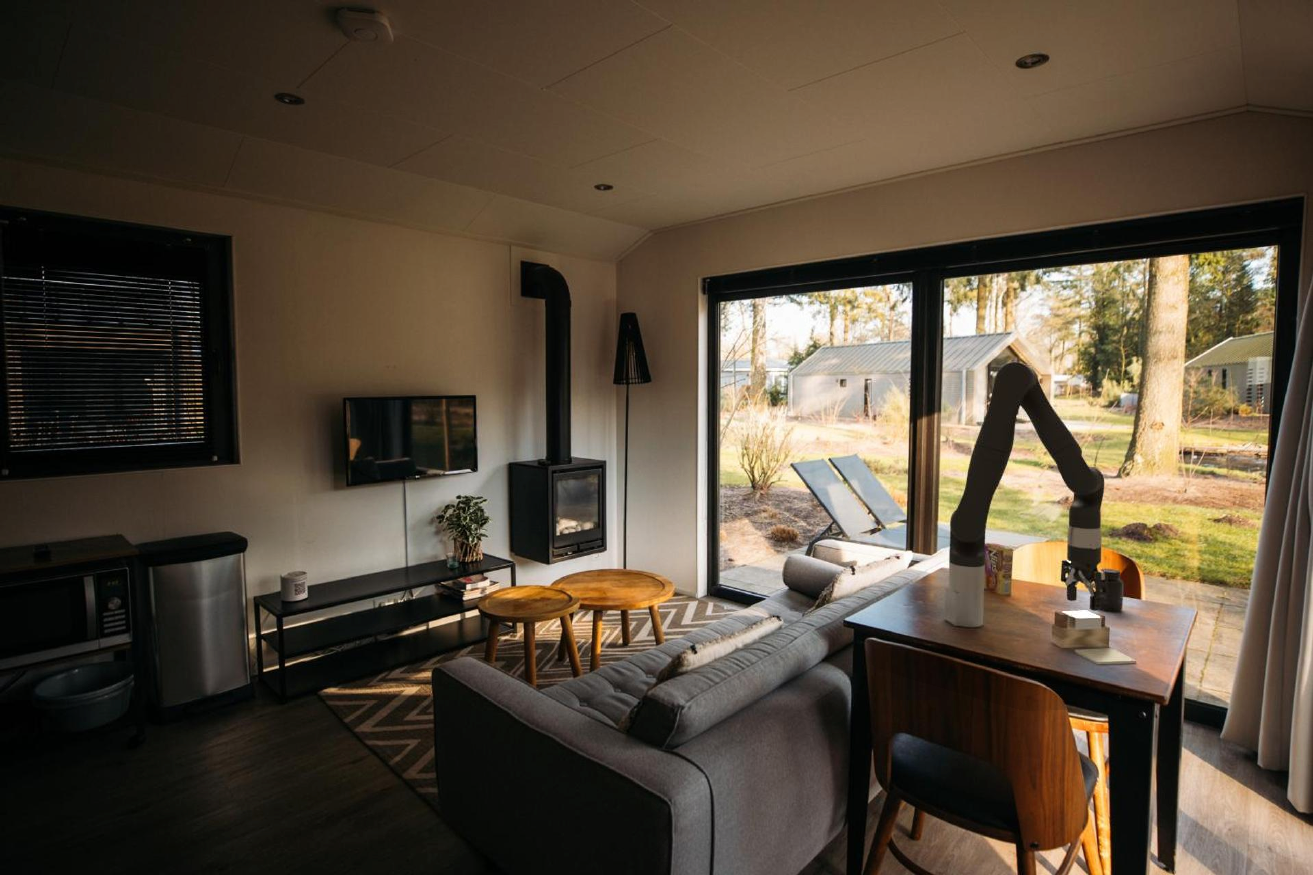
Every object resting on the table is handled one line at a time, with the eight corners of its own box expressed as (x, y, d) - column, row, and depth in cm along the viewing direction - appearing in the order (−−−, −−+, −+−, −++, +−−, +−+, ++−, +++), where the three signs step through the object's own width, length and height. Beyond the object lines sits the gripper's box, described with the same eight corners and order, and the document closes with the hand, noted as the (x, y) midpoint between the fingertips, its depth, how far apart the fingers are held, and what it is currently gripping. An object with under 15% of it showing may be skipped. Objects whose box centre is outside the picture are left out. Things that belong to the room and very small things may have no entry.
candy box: (1012, 594, 226) (1014, 548, 225) (1001, 595, 225) (1002, 549, 224) (993, 587, 234) (994, 542, 233) (982, 587, 234) (983, 543, 233)
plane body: (1061, 647, 179) (1062, 615, 178) (1051, 642, 183) (1052, 610, 182) (1108, 646, 180) (1110, 614, 179) (1097, 640, 184) (1099, 609, 183)
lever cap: (1075, 629, 178) (1075, 618, 178) (1061, 622, 184) (1061, 611, 183) (1100, 628, 179) (1101, 617, 178) (1086, 621, 184) (1086, 610, 184)
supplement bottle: (1126, 613, 207) (1128, 573, 206) (1101, 611, 208) (1102, 572, 207) (1116, 606, 213) (1118, 567, 213) (1091, 605, 215) (1093, 566, 214)
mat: (1097, 664, 168) (1097, 661, 168) (1075, 651, 176) (1075, 649, 176) (1136, 662, 169) (1136, 660, 169) (1112, 650, 177) (1112, 648, 177)
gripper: (1052, 538, 187) (1051, 597, 188) (1090, 550, 172) (1089, 614, 173) (1078, 537, 187) (1077, 596, 188) (1118, 549, 173) (1117, 612, 174)
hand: (1083, 605), depth 181 cm, fingers open, 8 cm apart
